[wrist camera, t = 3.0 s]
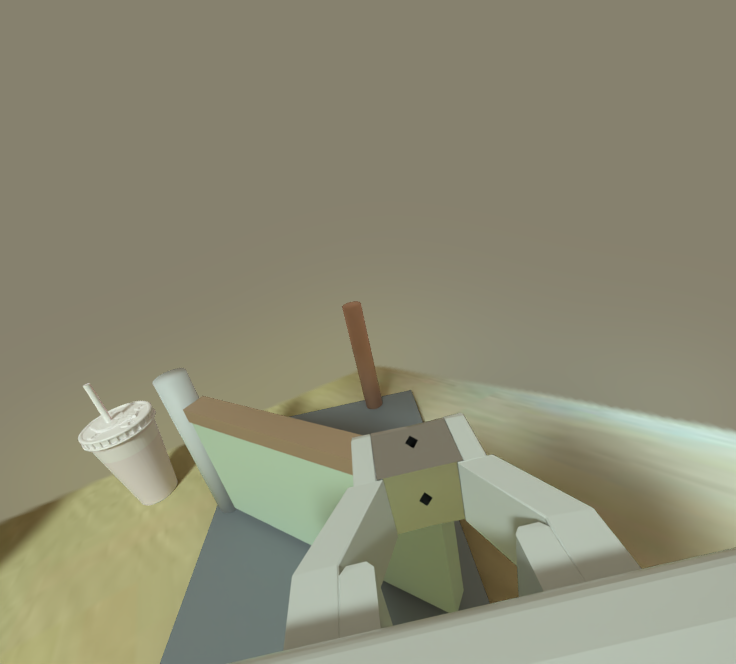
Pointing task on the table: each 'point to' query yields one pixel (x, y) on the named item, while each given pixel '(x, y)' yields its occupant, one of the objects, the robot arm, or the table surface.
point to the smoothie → (131, 448)
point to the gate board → (277, 535)
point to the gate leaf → (313, 489)
